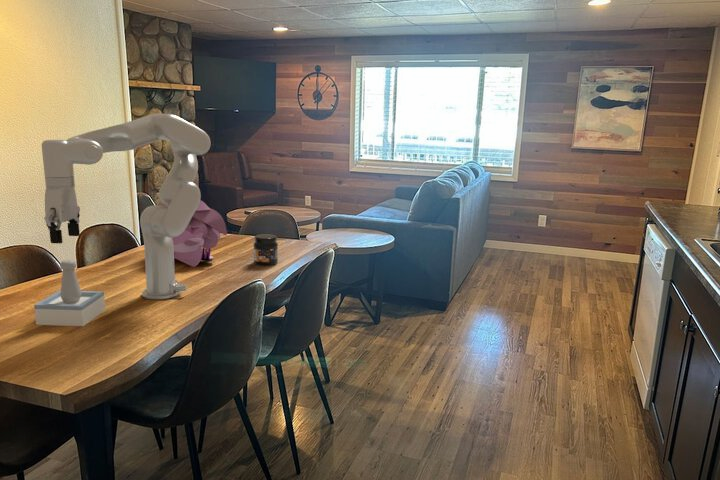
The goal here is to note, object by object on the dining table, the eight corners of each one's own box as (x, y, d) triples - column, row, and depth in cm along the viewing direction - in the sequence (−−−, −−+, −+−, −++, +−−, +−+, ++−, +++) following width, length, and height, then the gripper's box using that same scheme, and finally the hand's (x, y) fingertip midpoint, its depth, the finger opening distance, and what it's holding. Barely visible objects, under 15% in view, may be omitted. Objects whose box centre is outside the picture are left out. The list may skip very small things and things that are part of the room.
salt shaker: (67, 298, 168) (63, 258, 165) (85, 298, 168) (82, 258, 165) (57, 304, 162) (53, 263, 159) (76, 304, 162) (72, 263, 159)
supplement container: (248, 264, 231) (248, 237, 228) (260, 258, 241) (260, 232, 238) (270, 267, 228) (270, 239, 225) (282, 261, 238) (282, 235, 235)
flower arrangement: (232, 268, 242) (243, 206, 240) (209, 272, 218) (220, 204, 217) (162, 254, 248) (172, 194, 246) (132, 256, 224) (142, 190, 223)
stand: (105, 309, 173) (103, 291, 171) (83, 326, 159) (81, 306, 158) (61, 308, 173) (60, 290, 171) (36, 324, 159) (34, 305, 157)
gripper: (63, 178, 165) (68, 232, 169) (29, 186, 148) (36, 245, 152) (87, 179, 165) (92, 233, 169) (56, 186, 148) (62, 246, 152)
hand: (65, 239), depth 160 cm, fingers open, 9 cm apart
